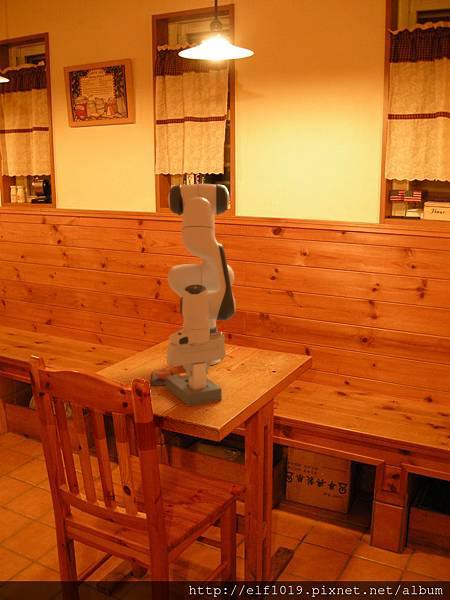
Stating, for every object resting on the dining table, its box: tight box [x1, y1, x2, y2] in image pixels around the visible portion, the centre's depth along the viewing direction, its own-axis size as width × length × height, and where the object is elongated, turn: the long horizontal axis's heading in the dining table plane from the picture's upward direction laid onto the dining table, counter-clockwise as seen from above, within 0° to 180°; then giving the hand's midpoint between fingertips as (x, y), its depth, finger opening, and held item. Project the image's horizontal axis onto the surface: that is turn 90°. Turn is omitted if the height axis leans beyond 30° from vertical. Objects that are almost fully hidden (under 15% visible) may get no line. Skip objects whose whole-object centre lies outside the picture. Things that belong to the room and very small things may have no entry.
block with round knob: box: [187, 362, 207, 390], centre depth 207 cm, size 4×4×10 cm
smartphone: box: [150, 369, 173, 387], centre depth 227 cm, size 7×15×1 cm, turn 4°
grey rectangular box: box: [165, 372, 222, 407], centre depth 212 cm, size 20×12×5 cm, turn 27°
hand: (197, 375), depth 207 cm, fingers closed on block with round knob, 4 cm apart
